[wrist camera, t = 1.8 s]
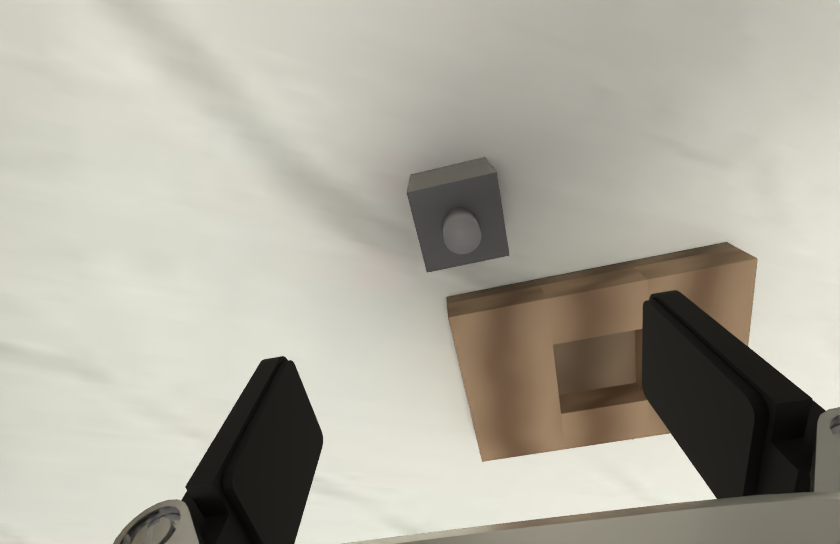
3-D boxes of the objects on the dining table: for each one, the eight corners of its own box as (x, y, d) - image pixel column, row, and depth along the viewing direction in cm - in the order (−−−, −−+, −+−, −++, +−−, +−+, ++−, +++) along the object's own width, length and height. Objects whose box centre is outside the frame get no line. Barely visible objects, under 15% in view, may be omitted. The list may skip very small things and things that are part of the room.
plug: (484, 157, 27) (502, 179, 21) (496, 228, 29) (516, 269, 23) (410, 174, 28) (405, 201, 21) (426, 243, 30) (426, 287, 23)
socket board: (726, 242, 29) (757, 258, 26) (714, 396, 35) (739, 422, 32) (446, 297, 31) (448, 317, 28) (478, 433, 37) (482, 461, 34)
